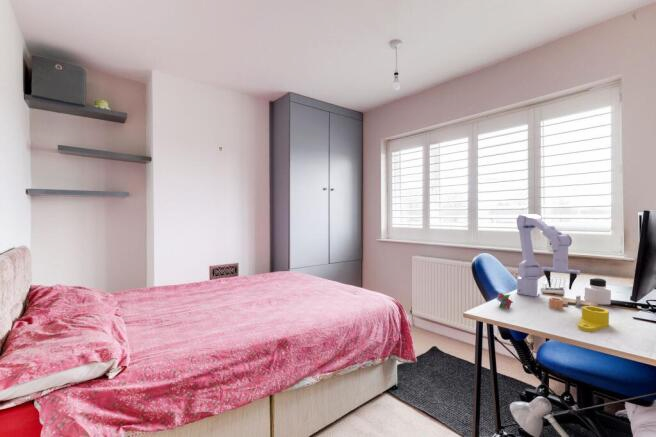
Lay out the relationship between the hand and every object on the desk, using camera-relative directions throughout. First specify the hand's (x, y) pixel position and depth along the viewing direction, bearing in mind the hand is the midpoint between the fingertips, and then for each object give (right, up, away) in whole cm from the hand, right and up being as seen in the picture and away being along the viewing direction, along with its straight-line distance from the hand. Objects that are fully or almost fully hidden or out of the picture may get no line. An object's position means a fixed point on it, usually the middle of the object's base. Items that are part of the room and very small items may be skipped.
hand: (559, 287), depth 145 cm
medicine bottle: (+25, -9, +7) cm, 27 cm away
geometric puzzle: (-26, -10, +2) cm, 28 cm away
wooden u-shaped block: (+12, -9, +3) cm, 15 cm away
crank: (-4, -11, -21) cm, 24 cm away
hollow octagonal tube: (-2, -10, 0) cm, 10 cm away
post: (+9, -9, +1) cm, 13 cm away
